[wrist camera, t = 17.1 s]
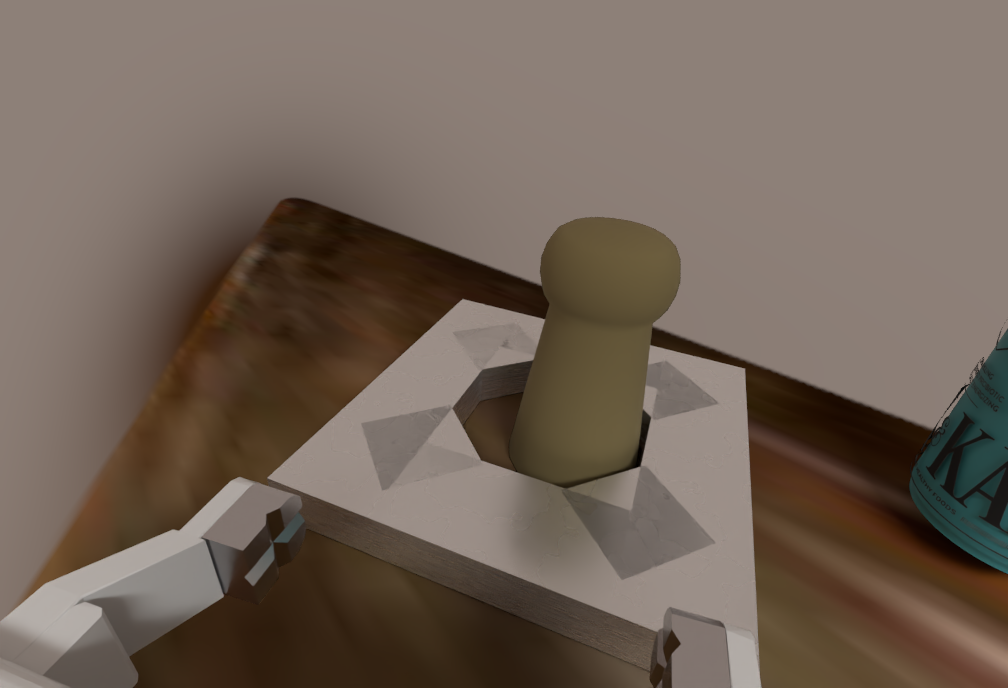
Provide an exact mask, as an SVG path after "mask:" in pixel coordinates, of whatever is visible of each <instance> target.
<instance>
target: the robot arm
mask: <svg viewBox="0 0 1008 688" xmlns="http://www.w3.org/2000/svg"><path fill="white" fill-rule="evenodd" d="M302 507H303V506H302V502H301V498H300V496H298V495H295V494H292V493H288V492H285V491H282V490H279V489H276V488H273V487H270V486H266V485H263V484H261V483H258V482H254V481H251V480H248V479H245V478H241V477H238V478H236V479H234V480H232V481H230V482H229V483H228V484H227V485H226V486H225V487H224V488H223V489H222V490H221V491H220V492H219V493H218V494H217V495H216V496H215V497H214V498H213V499H212V500H211V501H209V502H208V503H207V504H206V505H205V506H204V507H203V508H202V509H201V510H200V511H199V512H198V513H197V514H196V515H195V516H194V517H193V518H192V519H191V520H190V521H189V522H188V523H187V524H186V525H185V526H184V527H183V528H182V529H181V530H179V531H178V530H174V529H173V530H170V531H168V532H166V533H163V534H161V535H159V536H156V537H154V538H152V539H149V540H147V541H145V542H142V543H140V544H137V545H135V546H133V547H130V548H128V549H126V550H123V551H121V552H119V553H116V554H114V555H111V556H109V557H107V558H104V559H102V560H100V561H97V562H95V563H93V564H90V565H88V566H86V567H83V568H81V569H78V570H76V571H74V572H71V573H69V574H67V575H64V576H62V577H60V578H57V579H55V580H53V581H50V582H48V583H45V584H44V585H43V586H42V587H41V588H39V589H38V590H37V591H36V592H35V593H34V594H32V595H31V596H30V597H29V598H28V599H26V600H25V601H24V602H23V603H22V604H21V605H19V606H18V607H17V608H16V609H15V610H13V611H12V612H11V613H10V614H9V615H7V616H6V617H5V618H4V619H3V620H2V621H1V622H0V688H133V687H134V686H135V685H136V683H137V682H138V672H137V671H136V669H135V667H134V665H133V663H132V662H131V660H130V658H129V656H131V655H132V654H134V653H136V652H137V651H139V650H140V649H142V648H143V647H145V646H147V645H148V644H150V643H151V642H153V641H155V640H156V639H158V638H159V637H161V636H162V635H164V634H166V633H167V632H169V631H170V630H172V629H174V628H175V627H177V626H178V625H180V624H181V623H183V622H185V621H186V620H188V619H189V618H191V617H193V616H194V615H196V614H197V613H199V612H201V611H202V610H204V609H205V608H207V607H208V606H210V605H212V604H213V603H215V602H216V601H218V600H220V599H221V598H223V597H224V594H225V595H228V596H231V597H234V598H238V599H241V600H244V601H247V602H250V603H253V604H256V605H259V604H260V602H261V601H262V600H263V598H264V597H265V596H266V594H267V593H268V592H269V590H270V589H271V588H272V587H273V585H274V584H275V583H276V581H277V580H278V578H279V568H280V567H281V566H283V565H285V564H287V563H289V562H291V561H292V560H293V558H294V557H295V556H296V554H297V553H298V551H299V550H300V548H301V545H302V543H303V541H304V538H305V533H306V523H305V519H304V518H303V517H302V516H301V515H300V513H299V510H300V509H301V508H302ZM650 682H651V683H652V685H653V687H654V688H762V687H761V680H760V673H759V666H758V660H757V653H756V646H755V639H754V636H753V634H752V632H751V631H749V630H747V629H743V628H740V627H736V626H732V625H729V624H725V623H722V622H721V621H718V620H715V619H711V618H708V617H704V616H701V615H697V614H694V613H690V612H687V611H683V610H680V609H676V608H673V607H669V608H668V609H667V610H666V612H665V615H664V619H663V628H662V629H659V630H658V632H657V634H656V637H655V640H654V645H653V649H652V654H651V664H650Z"/></svg>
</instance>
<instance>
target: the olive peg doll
mask: <svg viewBox="0 0 1008 688" xmlns="http://www.w3.org/2000/svg"><path fill="white" fill-rule="evenodd" d="M540 274H541V282H542V288H543V292H544V295H545V297H546V298H547V300H548V302H549V303H550V304H549V308H548V311H547V315H546V318H545V322H544V325H543V328H542V332H541V335H540V339H539V342H538V346H537V349H536V352H535V356H534V359H533V363H532V366H531V369H530V373H529V376H528V380H527V383H526V387H525V390H524V393H523V397H522V400H521V404H520V407H519V411H518V414H517V417H516V421H515V424H514V428H513V431H512V435H511V438H510V441H509V452H510V459H511V461H512V463H513V465H514V467H515V469H516V470H517V472H518V473H520V474H523V475H526V476H529V477H532V478H535V479H538V480H541V481H544V482H547V483H550V484H553V485H556V486H559V487H562V488H565V489H567V488H571V487H574V486H578V485H581V484H584V483H588V482H591V481H594V480H598V479H601V478H604V477H608V476H611V475H614V474H618V473H621V472H625V471H628V470H631V469H635V468H636V466H637V457H638V448H639V439H640V430H641V421H642V413H643V404H644V395H645V386H646V377H647V368H648V359H649V351H650V342H651V333H652V324H653V322H655V321H656V320H657V319H659V318H660V317H661V316H662V315H663V314H664V313H665V312H666V311H667V310H668V308H669V307H670V305H671V303H672V302H673V300H674V298H675V297H676V294H677V291H678V287H679V284H680V257H679V254H678V251H677V248H676V246H675V245H674V244H673V242H672V241H671V240H670V239H669V238H667V237H666V236H665V235H664V234H662V233H661V232H659V231H657V230H656V229H654V228H651V227H648V226H646V225H643V224H640V223H635V222H632V221H627V220H621V219H615V218H604V217H590V218H581V219H576V220H573V221H571V222H568V223H566V224H564V225H562V226H560V227H559V228H558V229H557V230H556V231H555V233H554V234H553V235H552V236H551V238H550V239H549V241H548V242H547V244H546V247H545V249H544V252H543V254H542V257H541V267H540Z"/></svg>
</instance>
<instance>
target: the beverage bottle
mask: <svg viewBox="0 0 1008 688" xmlns="http://www.w3.org/2000/svg"><path fill="white" fill-rule="evenodd" d="M1000 333H1001V332H1000ZM999 336H1000V334H999ZM983 358H984V357H983ZM983 360H984V359H983ZM983 360H982V361H981V362H983ZM982 364H983V363H982ZM982 364H981V365H982ZM977 366H978V364H977ZM977 366H976V367H977ZM975 369H976V368H975ZM975 369H974V370H975ZM975 371H978V372H977V373H976V374H977V375H976V376H975V378H974V379H973V380H972V382H970V383H971V384H968V385H969V387H968V388H967V390H966V387H967V386H968V385H966V386H964V387H962V388H961V390H960V392H959V393H958V394H957V396H956V398H958V396H959V394H960V393H961V392H962V391H963V390H964V388H965V393H964V394H963V396H962V397H961V398H960V400H959V401H958V403H957V405H956V406H955V407H954V409H953V410H952V412H951V413H950V415H949V416H948V417H946V418H945V420H944V421H943V423H942V426H941V427H939V428H938V429H937V430H939V431H938V432H937V430H936V431H935V433H936V432H937V433H936V435H935V433H934V435H933V436H932V434H933V432H934V430H935V428H936V427H937V425H936V426H935V428H934V429H933V431H932V432H931V434H930V435H929V437H930V438H932V439H933V440H932V439H931V443H929V444H928V447H927V444H926V442H927V440H928V439H930V438H929V437H928V439H927V440H926V442H925V443H924V444H923V447H922V448H921V449H922V451H923V448H924V446H925V447H927V449H926V450H925V452H922V453H923V454H922V453H920V454H922V456H921V457H920V459H919V460H918V462H917V463H916V462H915V463H916V465H915V466H914V468H913V471H912V473H911V466H910V473H911V479H910V485H909V488H910V493H911V496H912V499H913V501H914V503H915V504H916V506H917V507H918V509H919V510H920V512H921V513H922V514H923V515H924V516H925V518H926V519H927V520H928V521H929V522H930V523H931V524H932V525H933V526H934V527H935V528H936V529H937V530H939V531H940V532H941V533H942V534H943V535H944V536H946V537H947V538H948V539H949V540H951V541H952V542H953V543H955V544H956V545H957V546H959V547H960V548H962V549H963V550H965V551H966V552H968V553H969V554H971V555H973V556H974V557H976V558H978V559H979V560H981V561H983V562H985V563H987V564H988V565H990V566H992V567H994V568H996V569H998V570H1000V571H1003V572H1005V573H1007V574H1008V329H1007V331H1006V332H1005V333H1004V335H1003V336H1002V338H1001V339H1000V341H999V342H998V340H997V344H996V347H995V348H994V350H993V351H992V353H991V354H990V356H989V357H988V359H987V360H986V362H985V363H984V364H983V365H982V367H981V369H980V370H975ZM970 379H971V377H970ZM956 398H955V399H954V400H953V402H954V401H955V400H956ZM953 402H952V403H953ZM952 403H951V404H952ZM951 404H950V406H951ZM950 406H949V407H950ZM949 407H948V409H949ZM948 409H947V410H948ZM945 412H946V411H945ZM937 424H938V423H937ZM933 437H934V438H933ZM925 444H926V445H925ZM921 449H920V450H921ZM918 455H919V454H917V455H916V459H917V456H918ZM916 459H915V461H916ZM913 460H914V459H913ZM911 464H912V463H911Z"/></svg>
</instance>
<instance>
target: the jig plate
mask: <svg viewBox="0 0 1008 688" xmlns="http://www.w3.org/2000/svg"><path fill="white" fill-rule="evenodd" d="M544 322H545V319H541V318H537V317H533V316H529V315H525V314H521V313H517V312H513V311H509V310H505V309H501V308H497V307H492V306H488V305H484V304H480V303H476V302H472V301H468V300H464V299H462V300H461V301H460V302H459V303H458V304H457V305H456V306H455V307H454V308H453V309H451V310H450V311H449V312H448V313H447V314H446V315H445V316H444V317H443V318H442V319H441V320H439V321H438V322H437V323H436V324H435V325H434V326H433V327H432V328H431V329H430V330H429V331H427V332H426V333H425V334H424V335H423V336H422V337H421V338H420V339H419V340H418V341H417V342H415V343H414V344H413V345H412V346H411V347H410V348H409V349H408V350H407V351H406V352H404V353H403V354H402V355H401V356H400V357H399V358H398V359H397V360H396V361H395V362H394V363H392V364H391V365H390V366H389V367H388V368H387V369H386V370H385V371H384V372H383V373H382V374H380V375H379V376H378V377H377V378H376V379H375V380H374V381H373V382H372V383H371V384H369V385H368V386H367V387H366V388H365V389H364V390H363V391H362V392H361V393H360V394H359V395H357V396H356V397H355V398H354V399H353V400H352V401H351V402H350V403H349V404H348V405H347V406H345V407H344V408H343V409H342V410H341V411H340V412H339V413H338V414H337V415H336V416H335V417H333V418H332V419H331V420H330V421H329V422H328V423H327V424H326V425H325V426H324V427H322V428H321V429H320V430H319V431H318V432H317V433H316V434H315V435H314V436H313V437H312V438H310V439H309V440H308V441H307V442H306V443H305V444H304V445H303V446H302V447H301V448H300V449H298V450H297V451H296V452H295V453H294V454H293V455H292V456H291V457H290V458H289V459H287V460H286V461H285V462H284V463H283V464H282V465H281V466H280V467H279V468H278V469H277V470H275V471H274V472H273V473H272V474H271V475H270V476H269V477H268V478H267V480H268V484H269V486H270V487H273V488H276V489H279V490H282V491H285V492H288V493H292V494H295V495H298V496H300V498H301V502H302V506H303V507H302V508H301V509H300V510H299V513H300V515H301V516H302V517H303V518H304V519H305V523H306V528H307V529H310V530H312V531H314V532H317V533H319V534H322V535H324V536H326V537H329V538H331V539H334V540H336V541H338V542H341V543H343V544H346V545H348V546H350V547H353V548H355V549H358V550H360V551H362V552H365V553H367V554H370V555H372V556H374V557H377V558H379V559H382V560H384V561H386V562H389V563H391V564H394V565H396V566H398V567H401V568H403V569H406V570H408V571H411V572H413V573H415V574H418V575H420V576H423V577H425V578H427V579H430V580H432V581H435V582H437V583H439V584H442V585H444V586H447V587H449V588H451V589H454V590H456V591H459V592H461V593H463V594H466V595H468V596H471V597H473V598H475V599H478V600H480V601H483V602H485V603H487V604H490V605H492V606H495V607H497V608H499V609H502V610H504V611H507V612H509V613H511V614H514V615H516V616H519V617H521V618H523V619H526V620H528V621H531V622H533V623H535V624H538V625H540V626H543V627H545V628H547V629H550V630H552V631H555V632H557V633H559V634H562V635H564V636H567V637H569V638H572V639H574V640H576V641H579V642H581V643H584V644H586V645H588V646H591V647H593V648H596V649H598V650H600V651H603V652H605V653H608V654H610V655H612V656H615V657H617V658H620V659H622V660H624V661H627V662H629V663H632V664H634V665H636V666H639V667H641V668H644V669H646V670H648V671H650V664H651V654H652V649H653V645H654V640H655V637H656V634H657V632H658V630H659V629H662V628H663V619H664V615H665V612H666V610H667V609H668V608H669V607H673V608H676V609H680V610H683V611H687V612H690V613H694V614H697V615H701V616H704V617H708V618H711V619H715V620H718V621H721V622H722V623H725V624H729V625H732V626H736V627H740V628H743V629H747V630H749V631H751V632H752V634H753V636H754V639H755V646H756V653H757V660H758V666H759V648H758V627H757V607H756V586H755V566H754V545H753V525H752V504H751V483H750V463H749V442H748V422H747V401H746V381H745V369H744V368H740V367H736V366H732V365H728V364H724V363H720V362H716V361H712V360H708V359H704V358H700V357H695V356H691V355H687V354H683V353H679V352H675V351H671V350H667V349H663V348H659V347H655V346H651V345H650V351H649V359H648V368H647V377H646V386H645V395H644V404H643V413H642V421H641V430H640V439H639V447H640V448H641V449H642V452H641V457H640V461H639V466H638V468H635V469H631V470H628V471H625V472H621V473H618V474H614V475H611V476H608V477H604V478H601V479H598V480H594V481H591V482H588V483H584V484H581V485H578V486H574V487H571V488H567V489H565V488H562V487H559V486H556V485H553V484H550V483H547V482H544V481H541V480H538V479H535V478H532V477H529V476H526V475H523V474H520V473H517V472H514V471H511V470H508V469H505V468H502V467H499V466H496V465H493V464H490V463H487V462H484V461H481V459H480V457H479V456H478V454H477V452H476V450H475V448H474V447H473V445H472V443H471V441H470V439H469V438H468V436H467V434H466V432H465V430H464V428H463V427H462V426H463V424H464V423H465V422H466V420H467V419H468V417H469V416H470V415H471V413H472V412H473V410H474V409H475V408H476V406H477V405H478V404H479V402H480V401H481V400H486V399H491V398H496V397H501V396H506V395H511V394H515V393H520V392H524V390H525V387H526V383H527V380H528V376H529V373H530V369H531V366H532V363H533V359H534V356H535V352H536V349H537V346H538V342H539V339H540V335H541V332H542V328H543V325H544ZM759 673H760V669H759Z"/></svg>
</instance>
